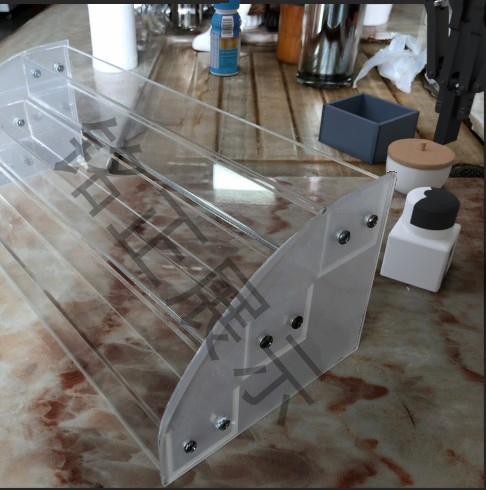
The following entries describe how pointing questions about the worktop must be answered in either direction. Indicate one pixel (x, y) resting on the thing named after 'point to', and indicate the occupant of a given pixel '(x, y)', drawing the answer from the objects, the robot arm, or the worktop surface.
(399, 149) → the trinket box
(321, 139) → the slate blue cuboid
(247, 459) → the worktop surface
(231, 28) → the beverage bottle
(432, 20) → the robot arm
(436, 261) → the container
